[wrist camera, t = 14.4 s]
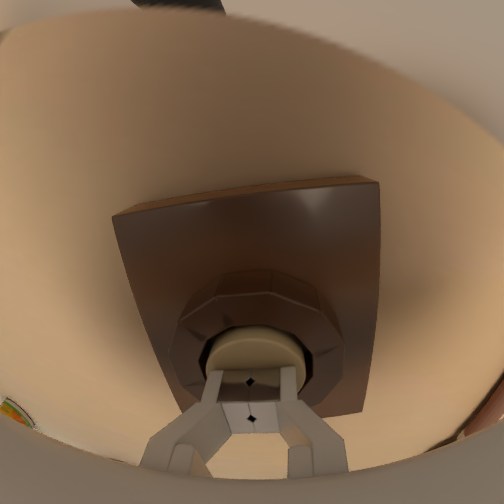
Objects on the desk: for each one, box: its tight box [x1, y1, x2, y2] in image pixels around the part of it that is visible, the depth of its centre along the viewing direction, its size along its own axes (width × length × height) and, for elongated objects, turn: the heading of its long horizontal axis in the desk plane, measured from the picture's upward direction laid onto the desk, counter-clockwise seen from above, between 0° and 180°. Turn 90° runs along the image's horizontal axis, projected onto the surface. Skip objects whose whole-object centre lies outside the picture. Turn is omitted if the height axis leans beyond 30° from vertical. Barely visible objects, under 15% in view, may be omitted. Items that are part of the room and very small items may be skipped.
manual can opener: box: [457, 379, 504, 440], centre depth 15 cm, size 20×6×3 cm, turn 169°
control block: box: [112, 176, 381, 418], centre depth 12 cm, size 12×10×4 cm
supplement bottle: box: [0, 399, 34, 429], centre depth 18 cm, size 5×5×10 cm
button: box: [206, 324, 306, 393], centre depth 10 cm, size 4×4×2 cm
